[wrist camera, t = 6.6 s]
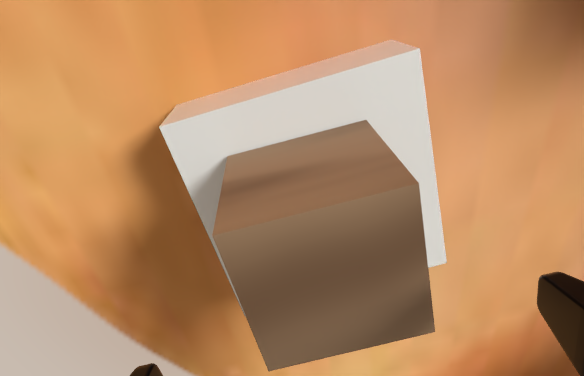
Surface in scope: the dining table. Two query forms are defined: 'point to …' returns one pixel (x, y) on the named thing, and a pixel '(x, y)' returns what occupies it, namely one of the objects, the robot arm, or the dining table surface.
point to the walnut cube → (324, 245)
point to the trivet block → (311, 123)
